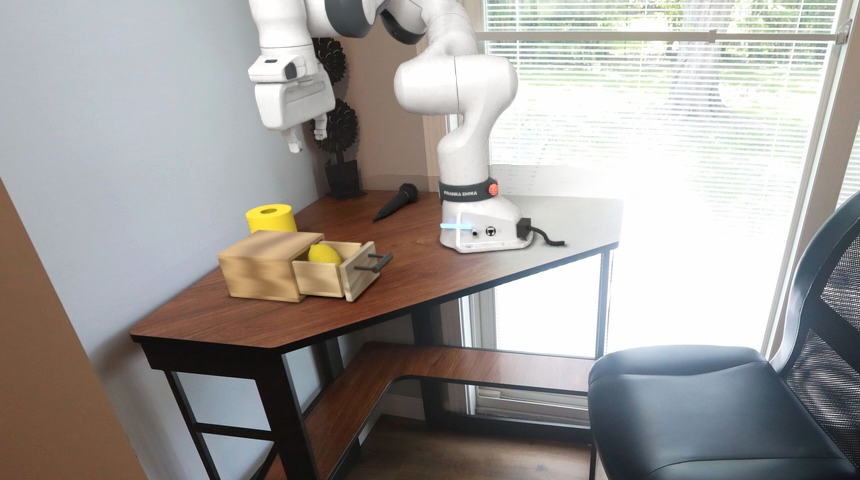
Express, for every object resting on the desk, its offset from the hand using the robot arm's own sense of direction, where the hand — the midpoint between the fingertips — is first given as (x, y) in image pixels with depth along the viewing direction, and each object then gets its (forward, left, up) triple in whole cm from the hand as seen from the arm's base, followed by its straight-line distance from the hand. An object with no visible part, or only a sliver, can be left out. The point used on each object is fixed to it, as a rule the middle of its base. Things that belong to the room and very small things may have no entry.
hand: (309, 145), depth 108 cm
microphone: (-2, -42, -27) cm, 49 cm away
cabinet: (+10, +5, -27) cm, 29 cm away
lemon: (-4, +8, -24) cm, 25 cm away
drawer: (-4, +8, -26) cm, 27 cm away
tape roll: (+19, -14, -27) cm, 36 cm away
